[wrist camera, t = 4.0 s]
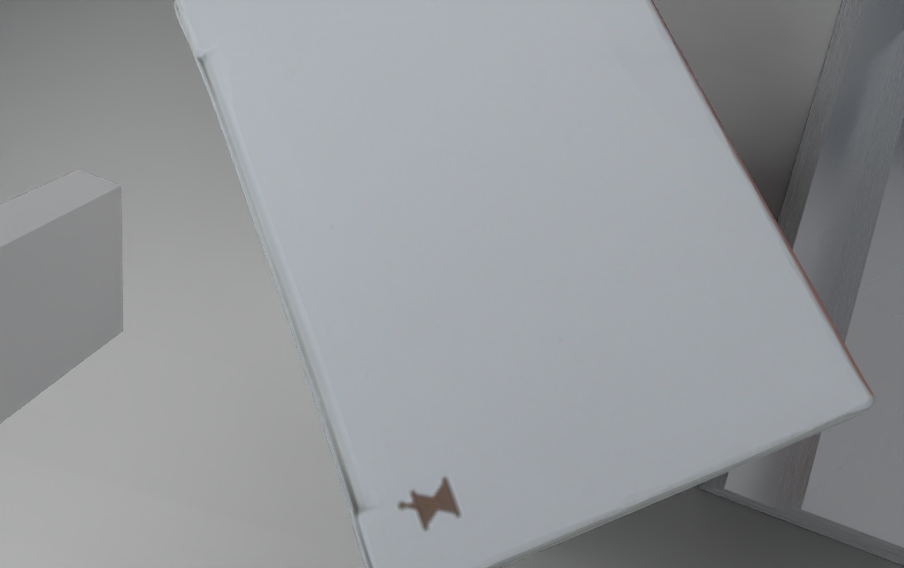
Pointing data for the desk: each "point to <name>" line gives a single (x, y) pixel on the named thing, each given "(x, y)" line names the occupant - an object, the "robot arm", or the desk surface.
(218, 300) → the desk surface
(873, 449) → the grey bin
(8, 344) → the robot arm
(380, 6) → the small box
